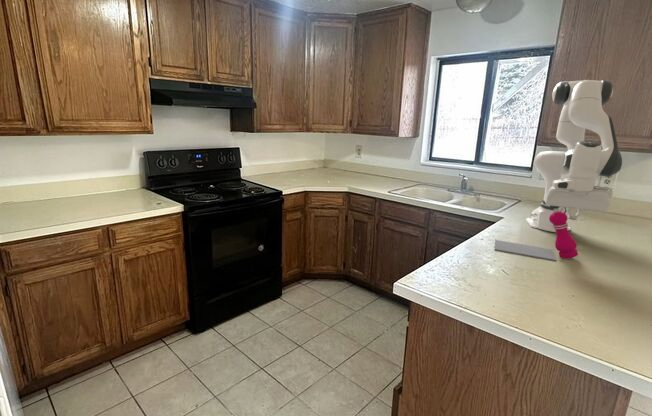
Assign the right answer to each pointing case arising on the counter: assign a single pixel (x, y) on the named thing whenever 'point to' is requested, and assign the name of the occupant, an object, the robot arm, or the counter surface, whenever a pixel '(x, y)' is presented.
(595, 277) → the counter surface
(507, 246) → the mat
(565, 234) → the pepper mill
